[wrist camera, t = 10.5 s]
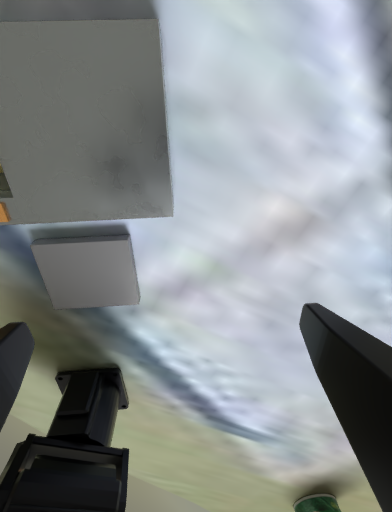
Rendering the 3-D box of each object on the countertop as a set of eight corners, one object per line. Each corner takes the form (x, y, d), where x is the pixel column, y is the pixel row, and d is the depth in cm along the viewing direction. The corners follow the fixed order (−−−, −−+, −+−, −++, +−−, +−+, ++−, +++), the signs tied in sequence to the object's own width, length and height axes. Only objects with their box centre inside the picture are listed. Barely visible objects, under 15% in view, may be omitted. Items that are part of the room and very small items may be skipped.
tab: (140, 296, 23) (138, 304, 22) (59, 302, 22) (54, 309, 21) (129, 234, 20) (127, 240, 19) (36, 239, 19) (29, 245, 19)
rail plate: (173, 207, 19) (173, 217, 17) (-67, 218, 18) (-96, 231, 16) (160, 30, 14) (157, 17, 12) (-168, 37, 13) (-225, 24, 11)
